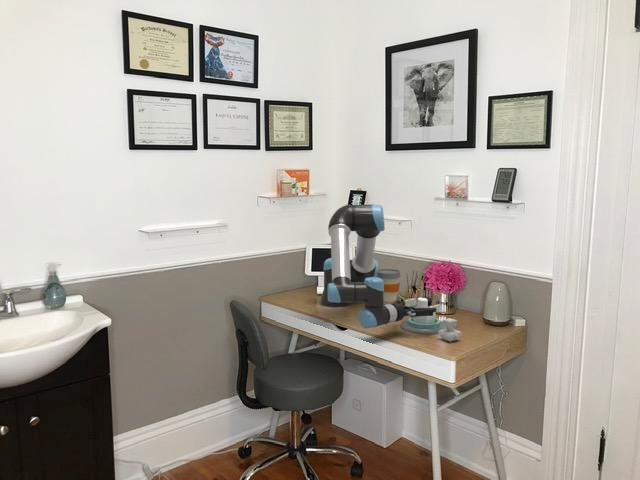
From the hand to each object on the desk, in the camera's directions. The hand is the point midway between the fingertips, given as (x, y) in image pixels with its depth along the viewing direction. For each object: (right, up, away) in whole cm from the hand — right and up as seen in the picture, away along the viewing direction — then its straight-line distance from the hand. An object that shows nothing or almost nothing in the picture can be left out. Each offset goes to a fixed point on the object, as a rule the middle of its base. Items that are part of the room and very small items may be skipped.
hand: (427, 304), depth 232 cm
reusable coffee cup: (-11, -3, +48) cm, 49 cm away
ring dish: (-1, -10, +1) cm, 10 cm away
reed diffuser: (-3, -7, +22) cm, 23 cm away
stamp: (+6, -12, -17) cm, 21 cm away
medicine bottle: (-1, -9, +1) cm, 9 cm away
